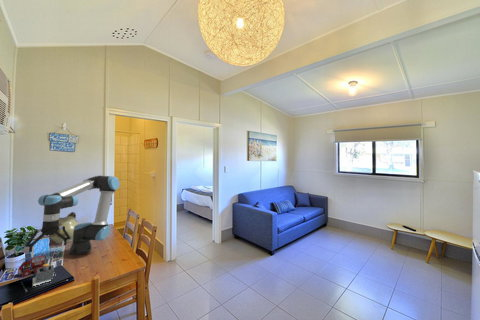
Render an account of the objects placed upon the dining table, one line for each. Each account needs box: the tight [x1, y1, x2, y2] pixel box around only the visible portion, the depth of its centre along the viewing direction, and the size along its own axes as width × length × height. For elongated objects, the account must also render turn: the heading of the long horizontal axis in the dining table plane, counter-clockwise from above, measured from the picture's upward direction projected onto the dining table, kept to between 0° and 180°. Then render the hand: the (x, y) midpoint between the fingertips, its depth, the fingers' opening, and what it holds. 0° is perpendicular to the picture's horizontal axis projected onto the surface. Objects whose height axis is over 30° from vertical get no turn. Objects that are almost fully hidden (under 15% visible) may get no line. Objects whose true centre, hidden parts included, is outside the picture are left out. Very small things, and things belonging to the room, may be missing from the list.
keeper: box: [32, 262, 51, 287], centre depth 121 cm, size 10×10×10 cm
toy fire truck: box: [17, 254, 47, 278], centre depth 128 cm, size 7×12×10 cm, turn 138°
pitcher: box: [48, 211, 80, 245], centre depth 181 cm, size 22×24×25 cm
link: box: [35, 264, 55, 284], centre depth 121 cm, size 8×8×6 cm
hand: (47, 253), depth 122 cm, fingers open, 13 cm apart
